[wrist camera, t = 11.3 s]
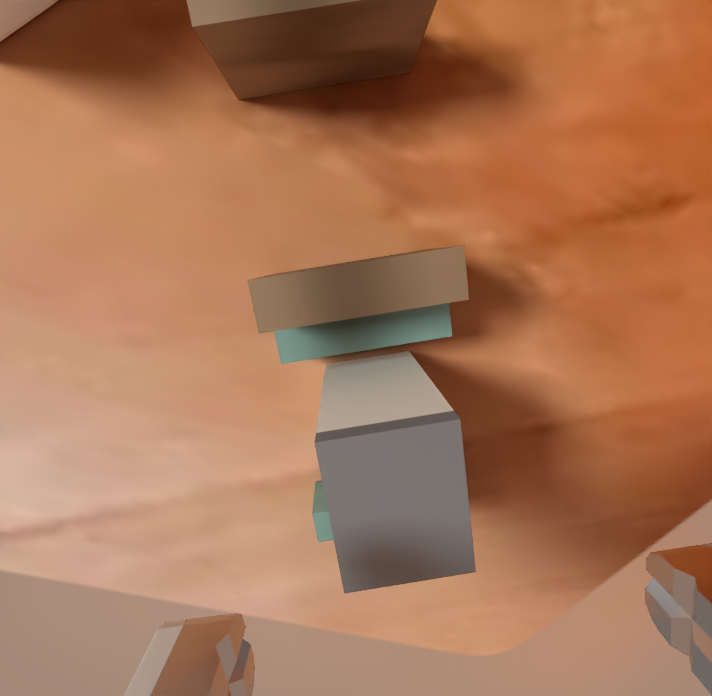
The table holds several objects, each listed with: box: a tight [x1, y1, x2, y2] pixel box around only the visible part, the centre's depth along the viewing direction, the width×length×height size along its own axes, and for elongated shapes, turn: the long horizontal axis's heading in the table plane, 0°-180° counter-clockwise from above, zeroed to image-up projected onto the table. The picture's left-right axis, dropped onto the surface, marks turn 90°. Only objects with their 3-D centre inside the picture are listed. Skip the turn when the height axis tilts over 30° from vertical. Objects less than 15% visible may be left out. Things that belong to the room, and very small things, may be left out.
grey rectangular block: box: [315, 351, 476, 593], centre depth 15 cm, size 4×5×8 cm
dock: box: [186, 0, 470, 542], centre depth 15 cm, size 7×20×5 cm, turn 9°
